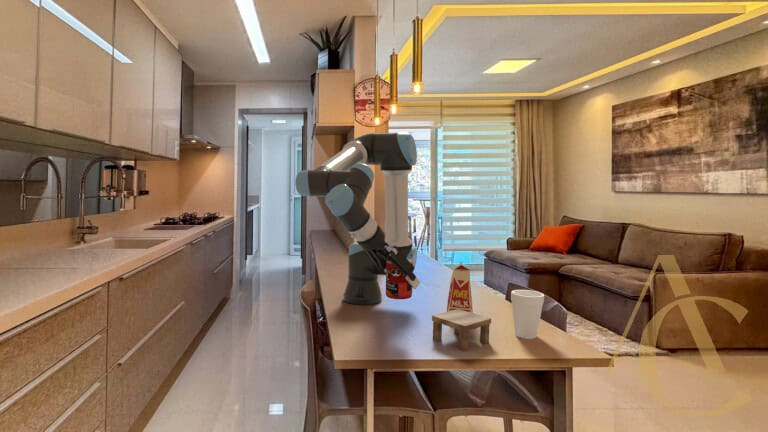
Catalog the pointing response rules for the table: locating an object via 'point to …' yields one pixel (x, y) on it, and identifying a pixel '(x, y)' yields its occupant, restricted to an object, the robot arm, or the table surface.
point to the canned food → (397, 282)
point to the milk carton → (460, 290)
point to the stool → (461, 325)
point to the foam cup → (526, 312)
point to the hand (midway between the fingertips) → (407, 282)
